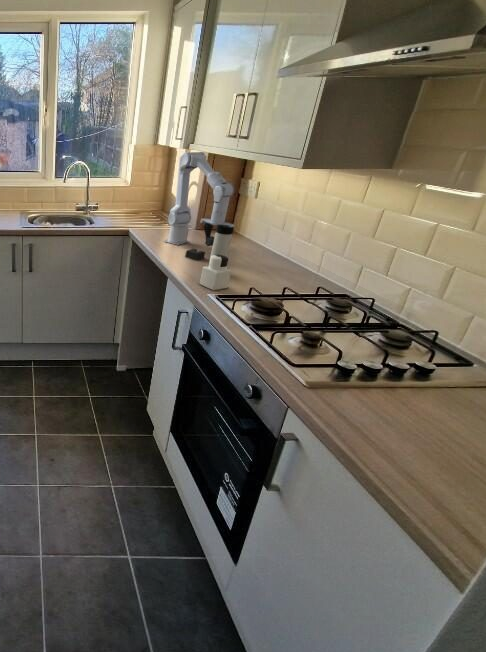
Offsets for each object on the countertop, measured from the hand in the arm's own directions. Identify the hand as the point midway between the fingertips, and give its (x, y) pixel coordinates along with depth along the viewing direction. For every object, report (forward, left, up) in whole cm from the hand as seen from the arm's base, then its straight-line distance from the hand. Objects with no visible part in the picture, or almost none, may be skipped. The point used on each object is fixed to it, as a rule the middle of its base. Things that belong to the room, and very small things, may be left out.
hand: (213, 241), depth 189 cm
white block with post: (+34, +21, -7) cm, 41 cm away
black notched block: (+8, -3, -7) cm, 11 cm away
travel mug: (+18, +13, -7) cm, 24 cm away
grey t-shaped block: (+1, 0, -1) cm, 2 cm away
